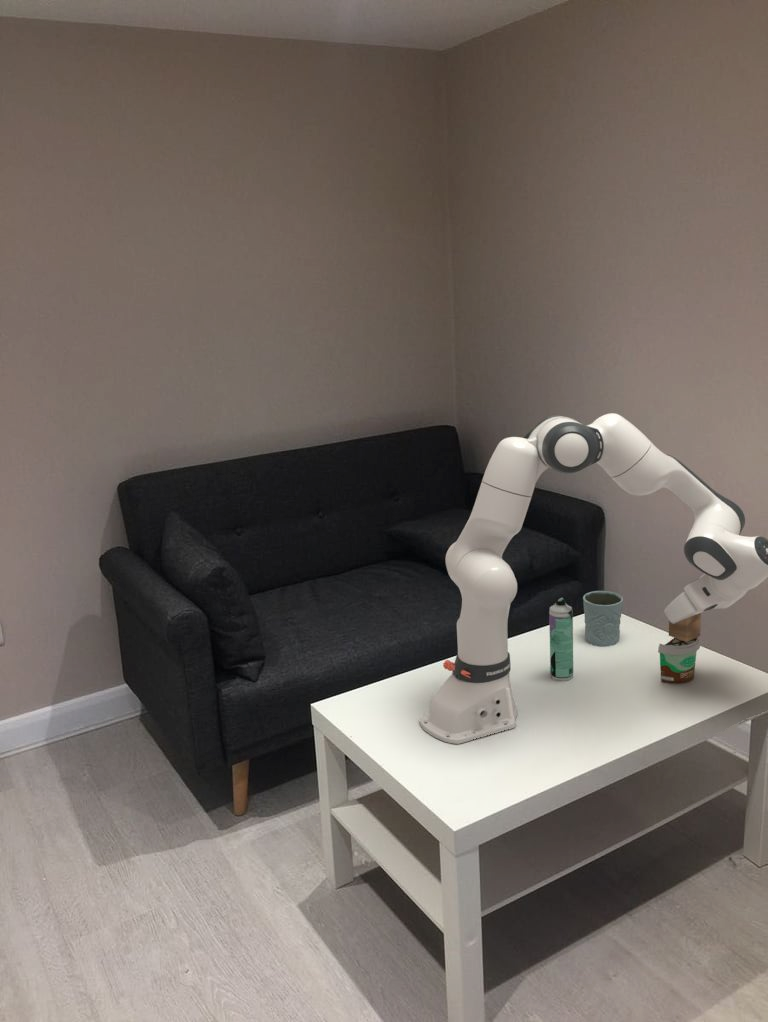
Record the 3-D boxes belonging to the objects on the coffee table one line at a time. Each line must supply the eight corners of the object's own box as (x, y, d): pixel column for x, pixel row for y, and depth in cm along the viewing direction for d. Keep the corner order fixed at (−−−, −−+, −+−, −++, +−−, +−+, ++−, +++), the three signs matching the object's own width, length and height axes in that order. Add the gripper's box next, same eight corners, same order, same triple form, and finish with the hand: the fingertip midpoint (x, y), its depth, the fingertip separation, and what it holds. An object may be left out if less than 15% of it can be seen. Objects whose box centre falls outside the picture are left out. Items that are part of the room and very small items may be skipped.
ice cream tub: (680, 691, 211) (681, 651, 208) (657, 683, 215) (658, 644, 213) (709, 673, 218) (710, 634, 216) (686, 666, 223) (687, 628, 220)
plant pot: (592, 630, 248) (592, 588, 245) (628, 636, 242) (628, 594, 239) (577, 643, 240) (576, 600, 237) (614, 651, 234) (614, 607, 231)
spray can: (573, 671, 224) (572, 594, 219) (573, 681, 219) (572, 603, 214) (550, 670, 225) (549, 594, 220) (550, 680, 220) (548, 603, 215)
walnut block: (686, 641, 210) (687, 609, 208) (668, 635, 215) (669, 603, 212) (700, 635, 213) (701, 603, 211) (682, 629, 217) (683, 598, 215)
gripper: (740, 564, 209) (703, 594, 220) (682, 586, 199) (645, 616, 209) (756, 588, 207) (718, 616, 217) (698, 611, 196) (661, 640, 207)
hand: (682, 616), depth 213 cm, fingers closed on walnut block, 5 cm apart
